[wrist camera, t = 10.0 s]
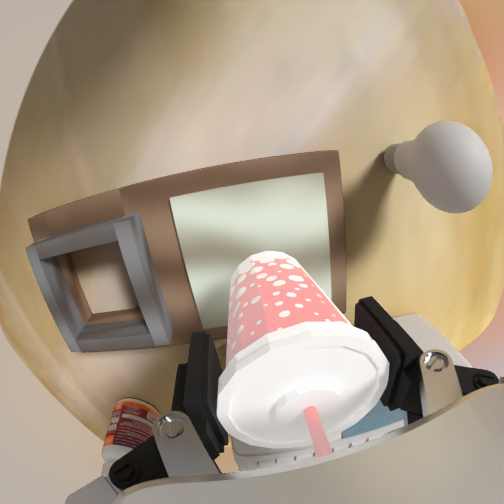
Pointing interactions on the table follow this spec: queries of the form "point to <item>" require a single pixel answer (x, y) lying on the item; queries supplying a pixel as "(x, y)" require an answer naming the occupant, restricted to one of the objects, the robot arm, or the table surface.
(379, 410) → the stereo radio cassette player
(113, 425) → the pill bottle
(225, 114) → the table surface
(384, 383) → the beverage cup
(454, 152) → the lightbulb
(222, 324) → the socket board
